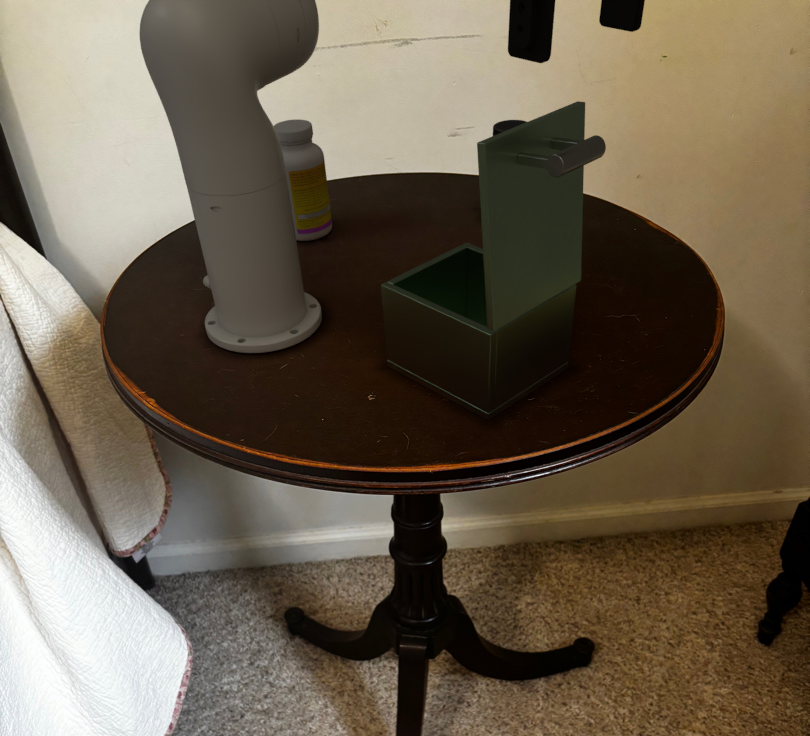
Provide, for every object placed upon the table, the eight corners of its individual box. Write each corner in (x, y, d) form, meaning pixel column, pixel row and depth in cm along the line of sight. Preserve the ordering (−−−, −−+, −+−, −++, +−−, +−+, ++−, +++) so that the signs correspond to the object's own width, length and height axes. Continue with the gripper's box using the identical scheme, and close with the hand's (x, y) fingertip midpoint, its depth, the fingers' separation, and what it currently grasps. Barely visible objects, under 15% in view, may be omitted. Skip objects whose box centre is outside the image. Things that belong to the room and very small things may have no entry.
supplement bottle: (343, 226, 104) (331, 120, 95) (312, 247, 100) (297, 138, 91) (302, 217, 107) (287, 113, 98) (271, 236, 103) (252, 130, 94)
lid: (476, 142, 57) (533, 150, 54) (577, 100, 62) (634, 106, 59) (487, 328, 66) (535, 345, 63) (574, 278, 72) (623, 291, 69)
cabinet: (386, 366, 80) (380, 284, 74) (466, 321, 85) (466, 241, 79) (488, 421, 73) (490, 334, 66) (568, 368, 78) (577, 284, 72)
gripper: (649, -322, 48) (608, 10, 60) (447, -322, 40) (447, 61, 52) (763, -333, 44) (695, 25, 56) (564, -334, 36) (534, 83, 48)
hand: (575, 42), depth 54 cm, fingers open, 9 cm apart
